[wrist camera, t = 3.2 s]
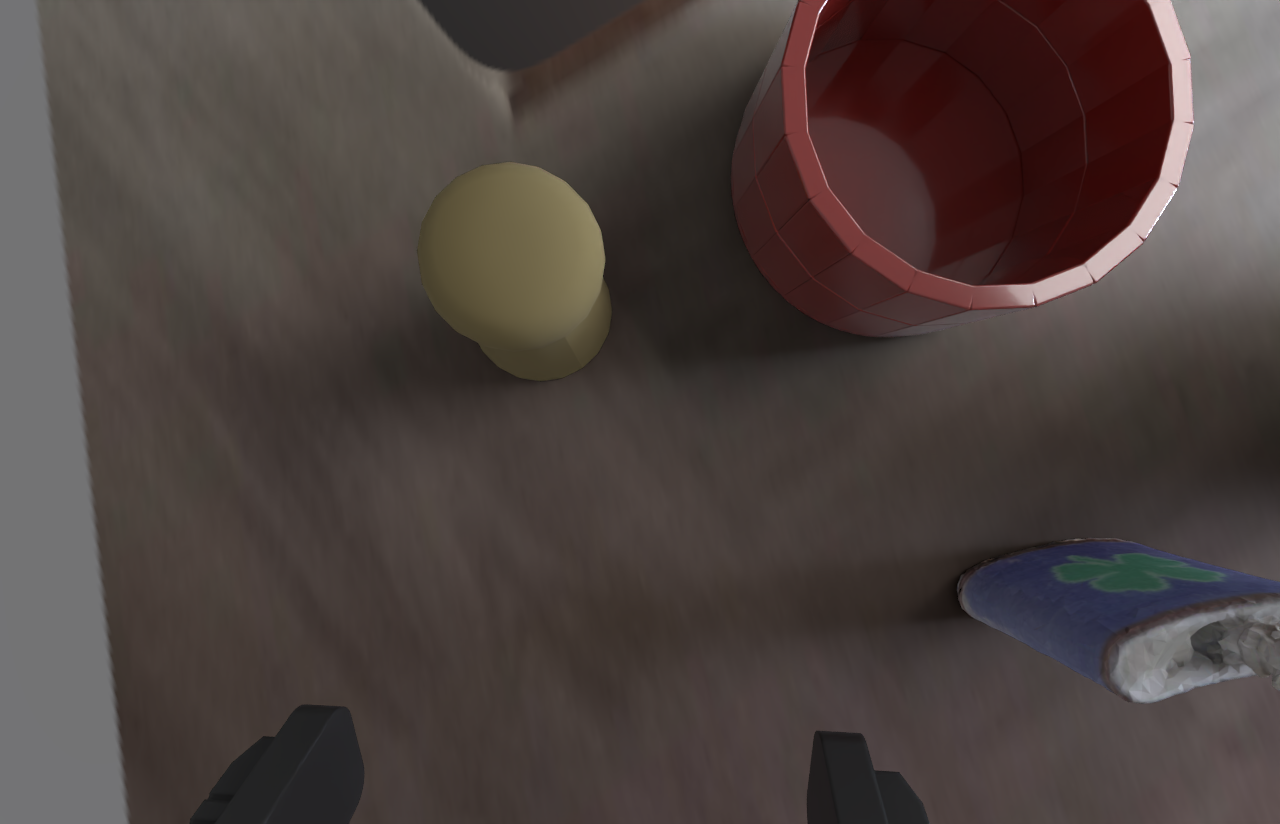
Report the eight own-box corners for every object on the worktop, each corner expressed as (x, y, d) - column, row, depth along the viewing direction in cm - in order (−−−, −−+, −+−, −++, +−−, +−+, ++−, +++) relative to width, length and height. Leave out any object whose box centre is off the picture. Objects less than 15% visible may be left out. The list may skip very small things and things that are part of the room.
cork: (450, 262, 28) (353, 163, 17) (587, 221, 28) (581, 98, 17) (494, 399, 28) (427, 390, 17) (630, 356, 28) (651, 321, 17)
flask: (957, 622, 29) (1167, 743, 18) (948, 556, 29) (1154, 639, 18) (1152, 591, 30) (1467, 691, 19) (1144, 527, 30) (1454, 590, 19)
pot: (968, -13, 29) (1109, -174, 21) (1074, 274, 29) (1251, 223, 21) (684, 87, 28) (719, -40, 20) (796, 382, 29) (872, 370, 21)
